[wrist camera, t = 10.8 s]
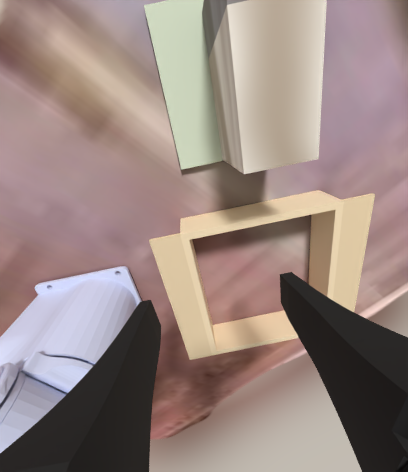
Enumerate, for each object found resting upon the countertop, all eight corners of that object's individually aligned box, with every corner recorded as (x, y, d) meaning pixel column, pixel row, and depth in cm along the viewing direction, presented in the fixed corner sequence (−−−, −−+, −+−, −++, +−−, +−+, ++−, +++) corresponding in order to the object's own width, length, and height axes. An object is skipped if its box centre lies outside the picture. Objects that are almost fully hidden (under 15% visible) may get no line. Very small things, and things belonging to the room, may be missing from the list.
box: (222, 159, 18) (244, 174, 11) (201, 12, 14) (217, -91, 7) (270, 149, 18) (318, 158, 11) (263, -1, 14) (332, -116, 7)
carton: (189, 333, 27) (190, 359, 24) (154, 224, 20) (149, 241, 17) (331, 304, 27) (351, 327, 24) (344, 184, 20) (375, 194, 17)
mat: (181, 168, 18) (181, 169, 18) (145, 9, 14) (143, 5, 13) (308, 142, 18) (311, 142, 18) (314, -27, 14) (318, -32, 13)
